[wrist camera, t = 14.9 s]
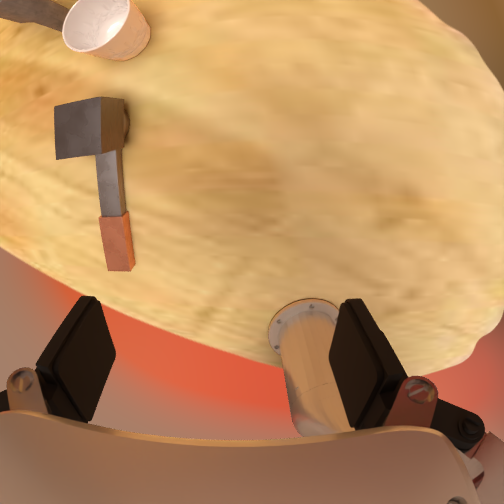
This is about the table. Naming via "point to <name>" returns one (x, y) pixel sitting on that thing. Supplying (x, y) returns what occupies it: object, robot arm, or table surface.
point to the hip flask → (34, 12)
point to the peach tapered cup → (106, 29)
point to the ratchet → (114, 209)
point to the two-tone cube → (89, 127)
